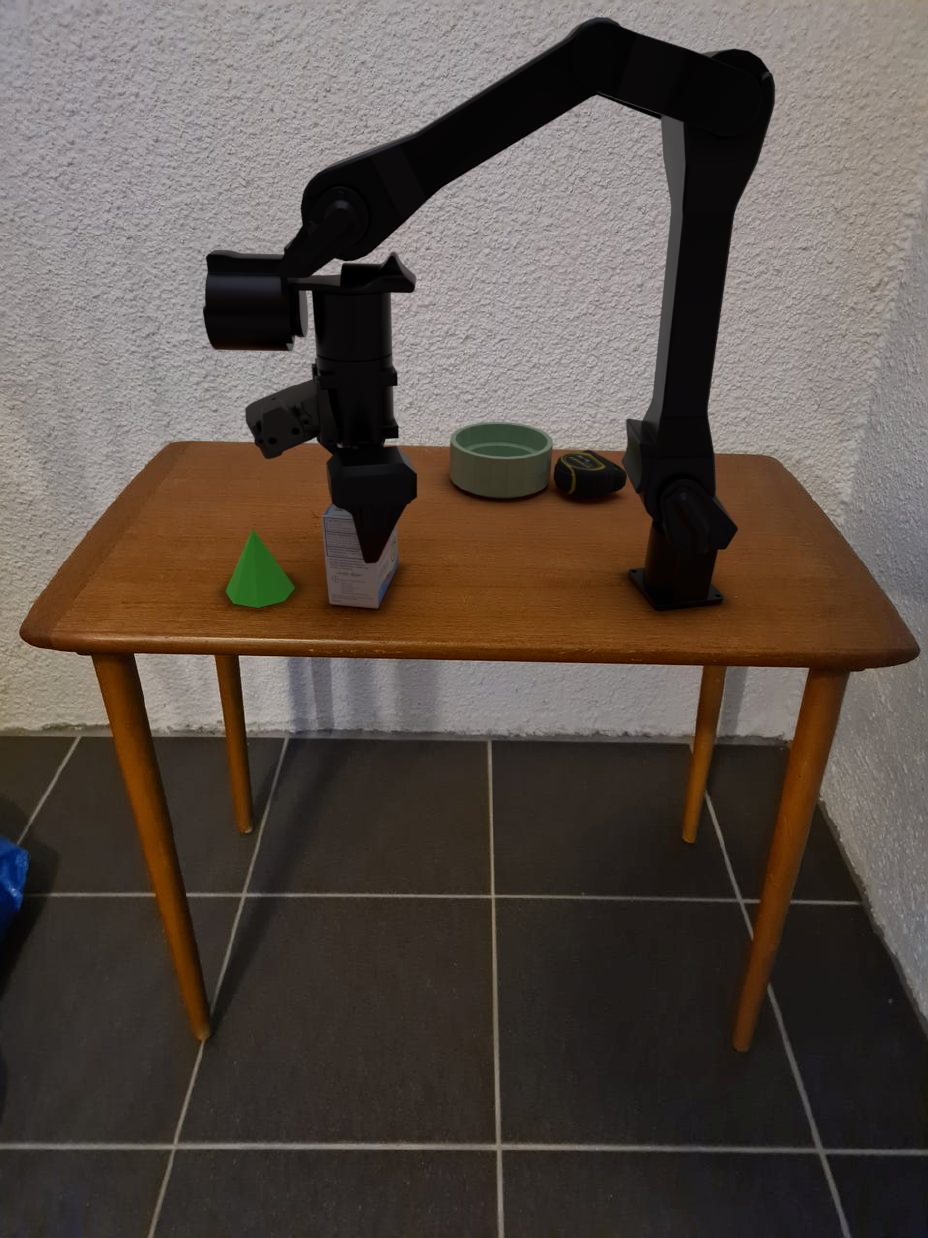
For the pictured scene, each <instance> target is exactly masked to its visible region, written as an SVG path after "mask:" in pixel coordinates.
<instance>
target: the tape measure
mask: <svg viewBox="0 0 928 1238" xmlns="http://www.w3.org/2000/svg"><path fill="white" fill-rule="evenodd" d="M627 478H628V475H627V472H626V470H625V469H624V468H622V467H621V466H619V465H618V464H617V463H615V462H613V461H611V460H610V459H607V458H606V457H604V456H603V455H600V454H598V453H596V452H595V451H593V450H590V449H587V450H586V449H585V450H583V451H571V452H567V453H564V454H562V455H561V456H559V458H557V460H556V464H555V465H554V469H553V481H554V485H555V486H556V488H557V489H558V490H559V491H560V492H563V493H565V494H566V495H569V496H570V497H574V498H577V499H600V498H603V497H607V496H608V495H610V494H614V493H616V492H619V491H621V490H622V489H623V488H624V487H626V485H627V484H626V483H627Z"/></svg>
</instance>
